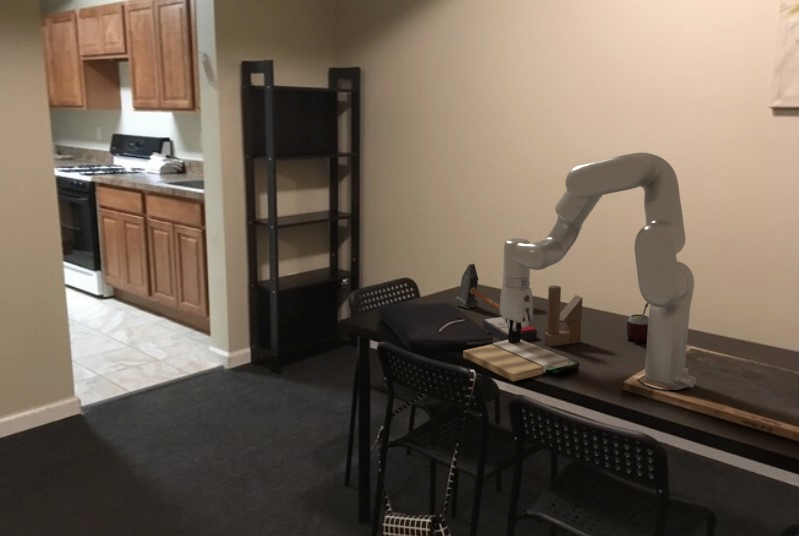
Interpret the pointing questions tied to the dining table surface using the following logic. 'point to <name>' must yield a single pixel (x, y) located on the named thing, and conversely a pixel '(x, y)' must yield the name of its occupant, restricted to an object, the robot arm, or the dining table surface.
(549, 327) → the wooden block
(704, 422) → the dining table surface
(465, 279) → the hammer
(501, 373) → the oak board
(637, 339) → the mate gourd
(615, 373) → the dining table surface
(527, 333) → the calculator
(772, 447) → the dining table surface
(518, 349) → the ash plank
